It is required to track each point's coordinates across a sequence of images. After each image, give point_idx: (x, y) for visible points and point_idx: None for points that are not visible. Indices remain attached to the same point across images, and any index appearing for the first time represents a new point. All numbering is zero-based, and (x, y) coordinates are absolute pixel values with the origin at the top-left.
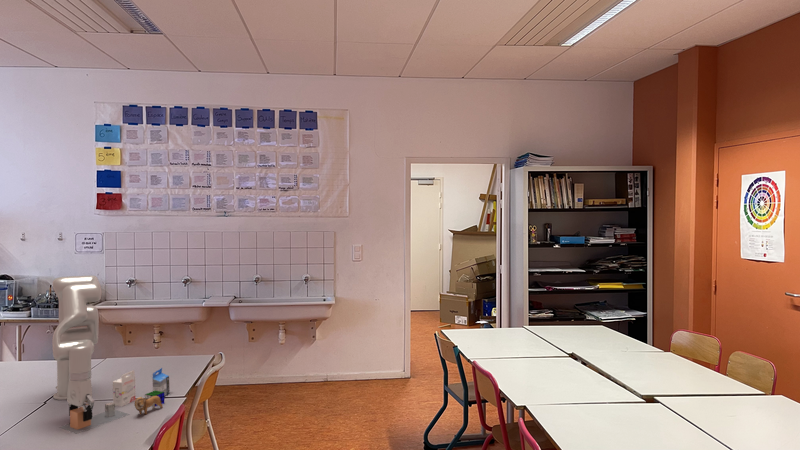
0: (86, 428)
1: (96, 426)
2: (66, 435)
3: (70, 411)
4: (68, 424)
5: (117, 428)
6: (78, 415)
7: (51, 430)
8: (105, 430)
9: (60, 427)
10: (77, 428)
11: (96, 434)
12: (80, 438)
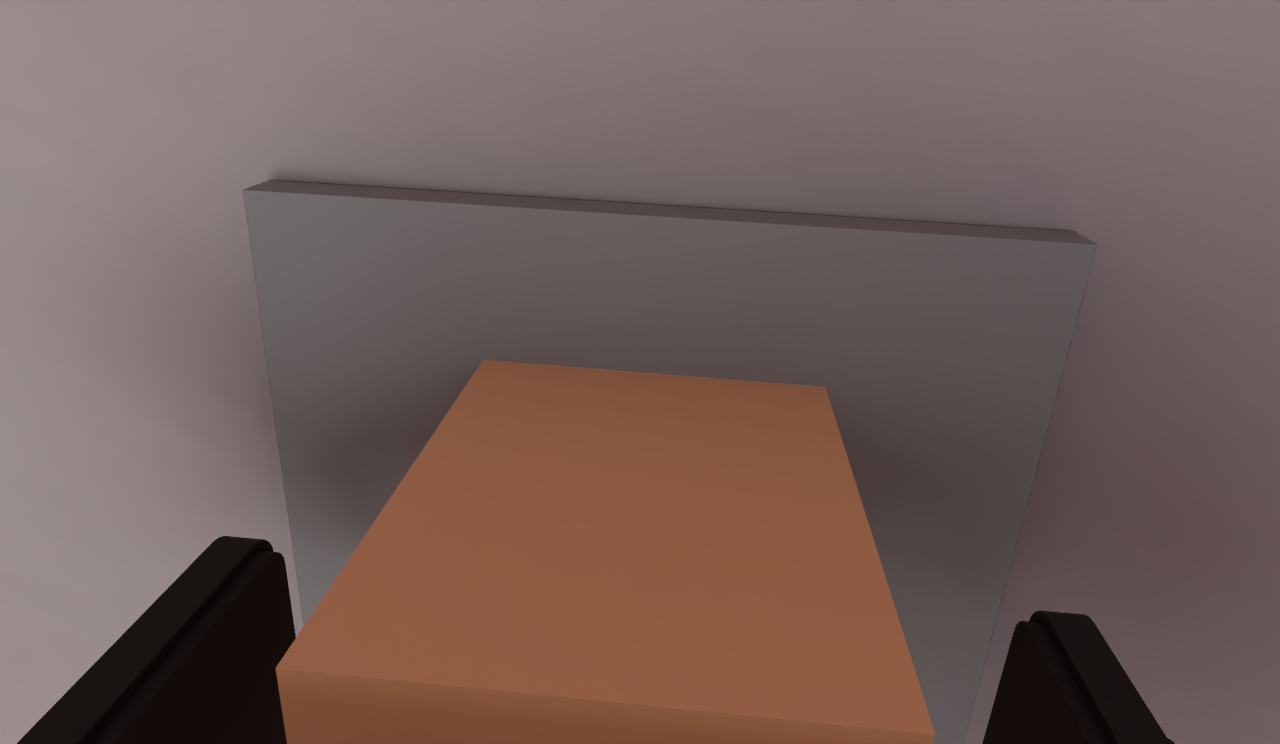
0: (370, 483)
1: (305, 623)
2: (503, 80)
3: (893, 697)
4: (1015, 457)
5: (18, 723)
6: (333, 617)
7: (1226, 87)
8: (85, 601)
9: (1046, 254)
10: (477, 372)
11: (6, 422)
12: (30, 135)
